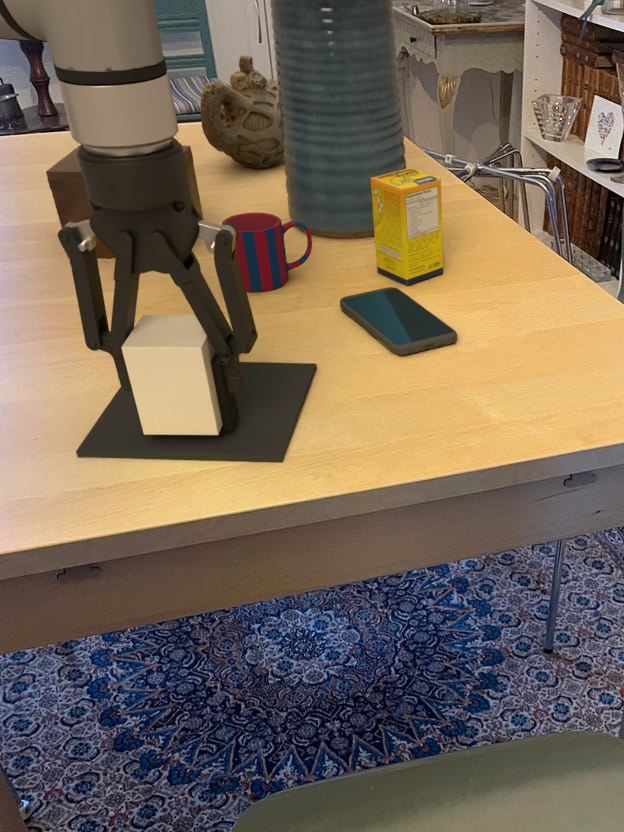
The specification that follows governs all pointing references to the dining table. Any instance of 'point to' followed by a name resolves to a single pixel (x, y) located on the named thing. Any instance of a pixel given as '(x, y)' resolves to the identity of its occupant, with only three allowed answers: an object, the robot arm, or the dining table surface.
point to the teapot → (244, 117)
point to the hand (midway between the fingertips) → (191, 422)
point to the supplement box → (407, 225)
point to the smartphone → (398, 320)
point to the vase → (337, 109)
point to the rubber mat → (250, 439)
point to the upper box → (172, 376)
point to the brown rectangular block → (75, 201)
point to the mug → (264, 250)
